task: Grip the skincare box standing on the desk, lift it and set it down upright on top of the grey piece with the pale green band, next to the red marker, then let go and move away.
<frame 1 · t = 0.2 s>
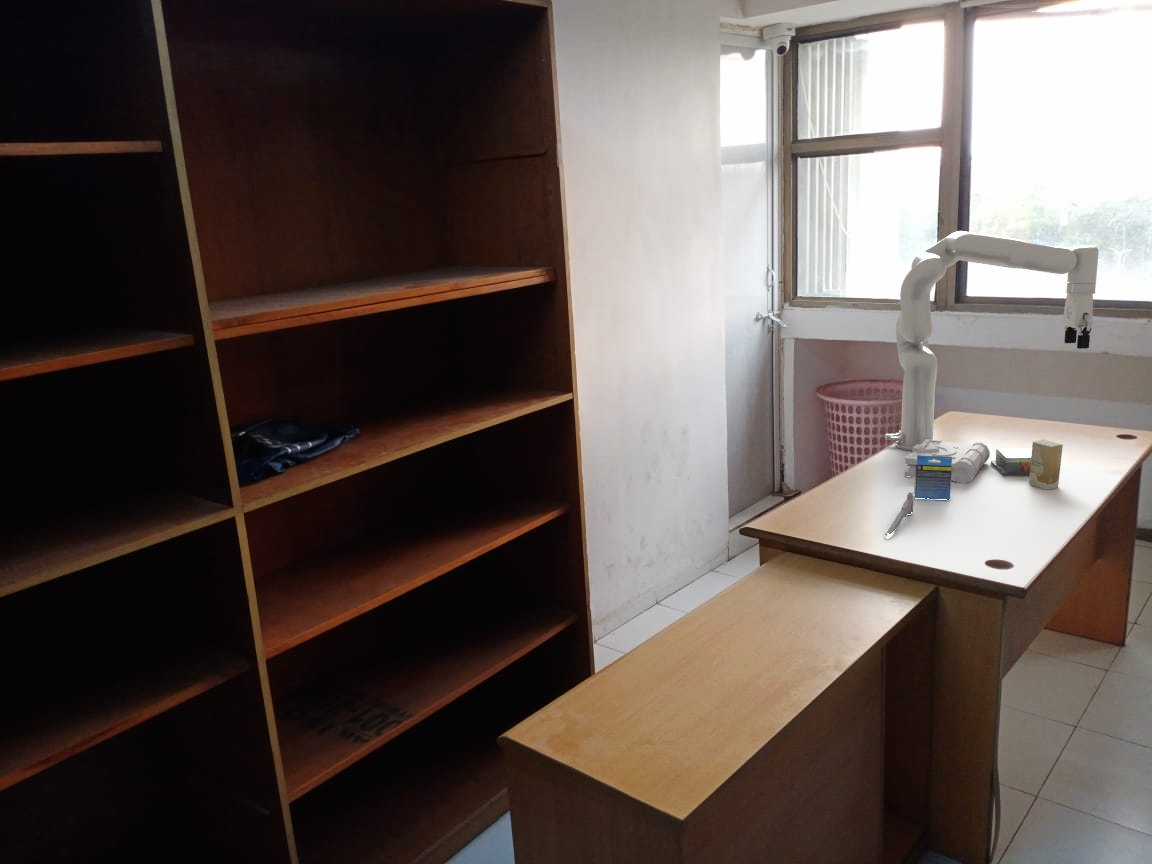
hand: (1076, 345, 279), 31 cm above the table, tool pointing down, fingers open, 9 cm apart
skincare box: (1043, 486, 251), on the table
grey piece: (1018, 469, 265), on the table
caliper: (899, 527, 228), on the table
label tape box: (931, 499, 246), on the table
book: (947, 469, 271), on the table
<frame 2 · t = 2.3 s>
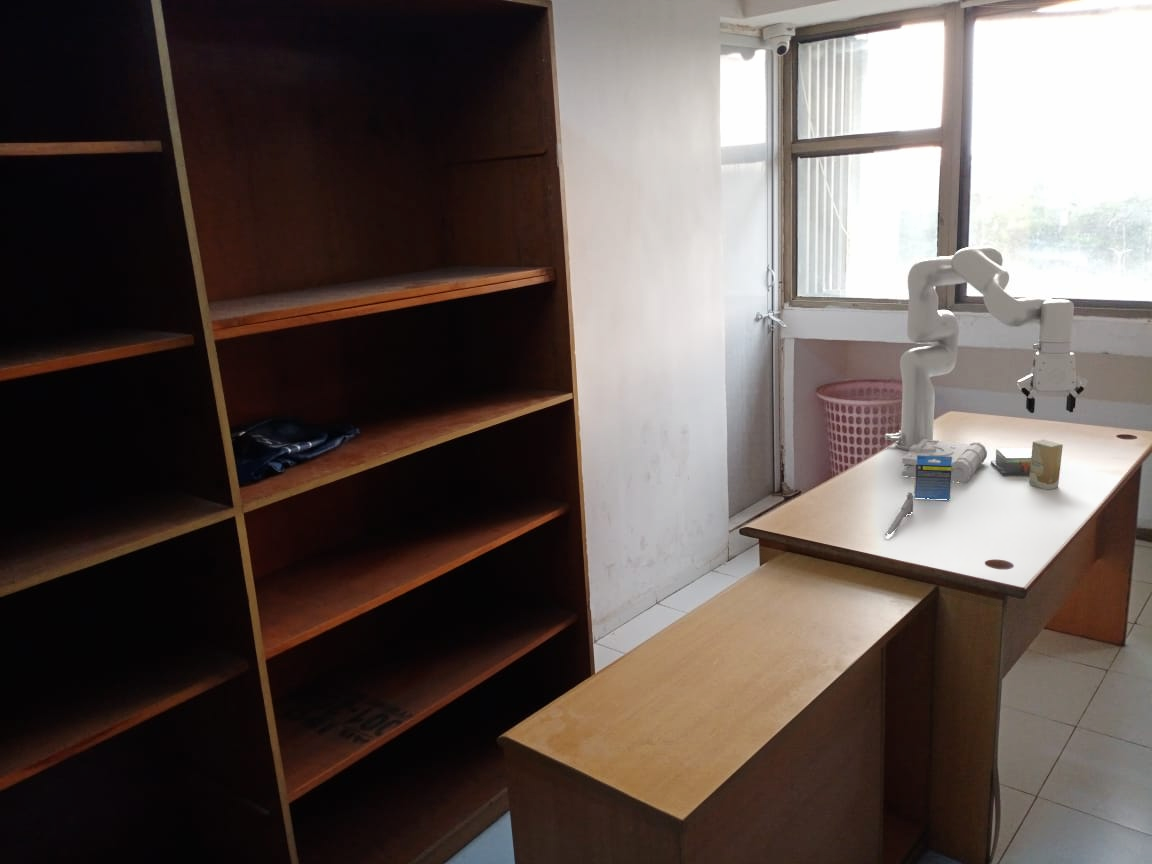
hand: (1050, 411, 246), 21 cm above the table, tool pointing down, fingers open, 9 cm apart
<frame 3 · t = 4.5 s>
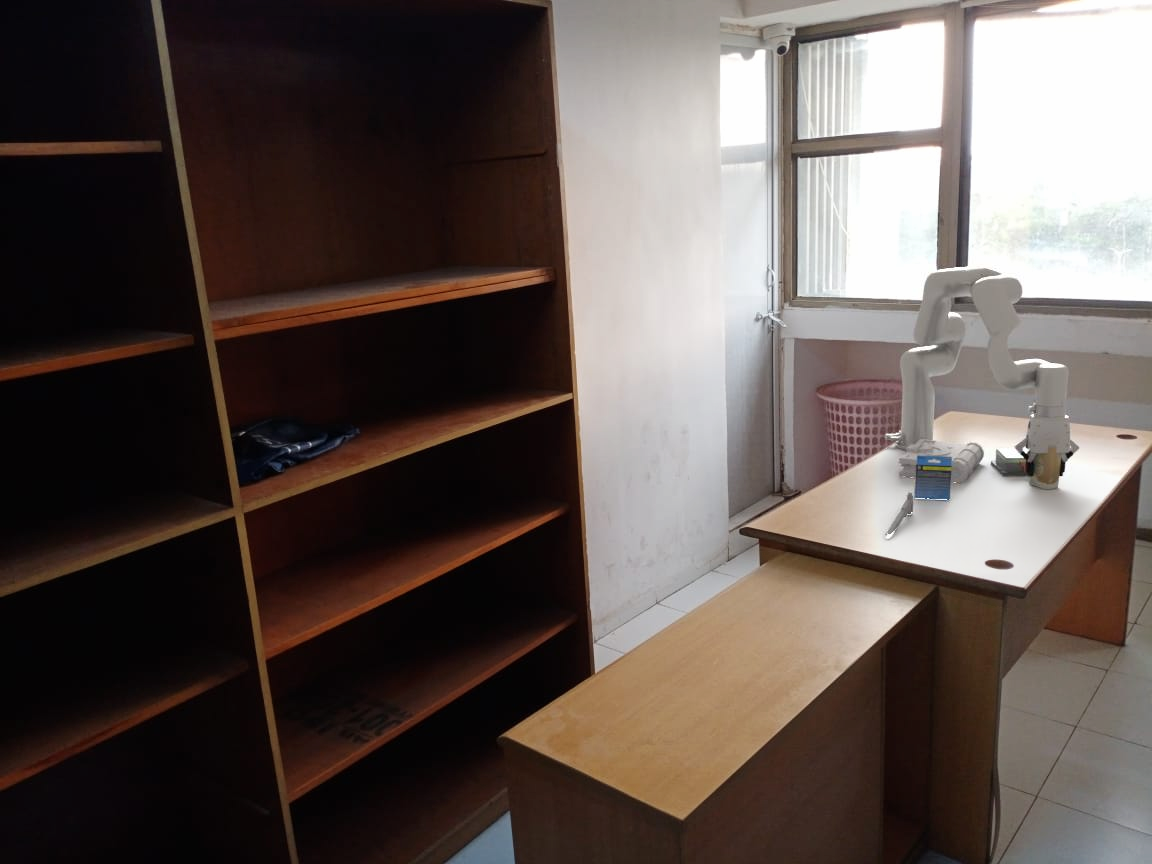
hand: (1044, 474, 250), 3 cm above the table, tool pointing down, fingers closed on skincare box, 6 cm apart
skincare box: (1043, 486, 251), on the table, touching gripper
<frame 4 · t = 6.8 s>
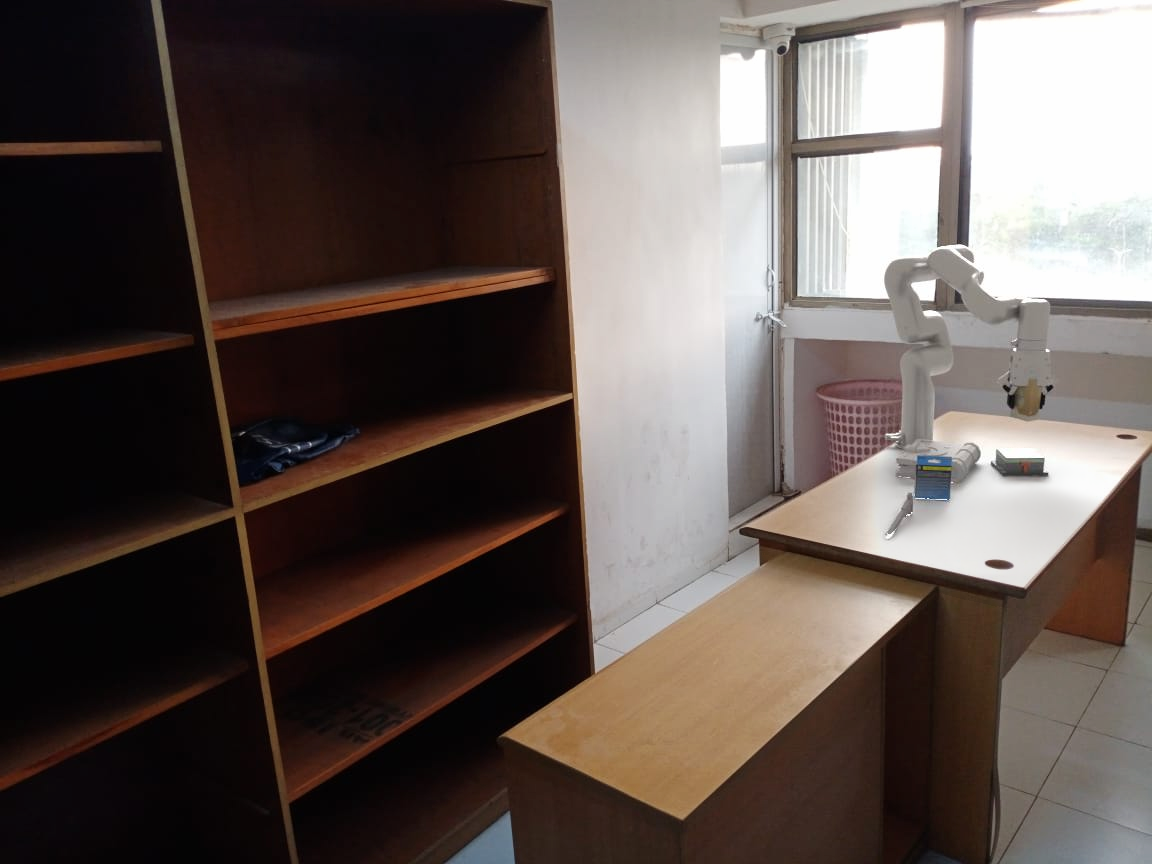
hand: (1025, 407, 259), 19 cm above the table, tool pointing down, fingers closed on skincare box, 6 cm apart
skincare box: (1024, 419, 260), point 15 cm above the table, touching gripper
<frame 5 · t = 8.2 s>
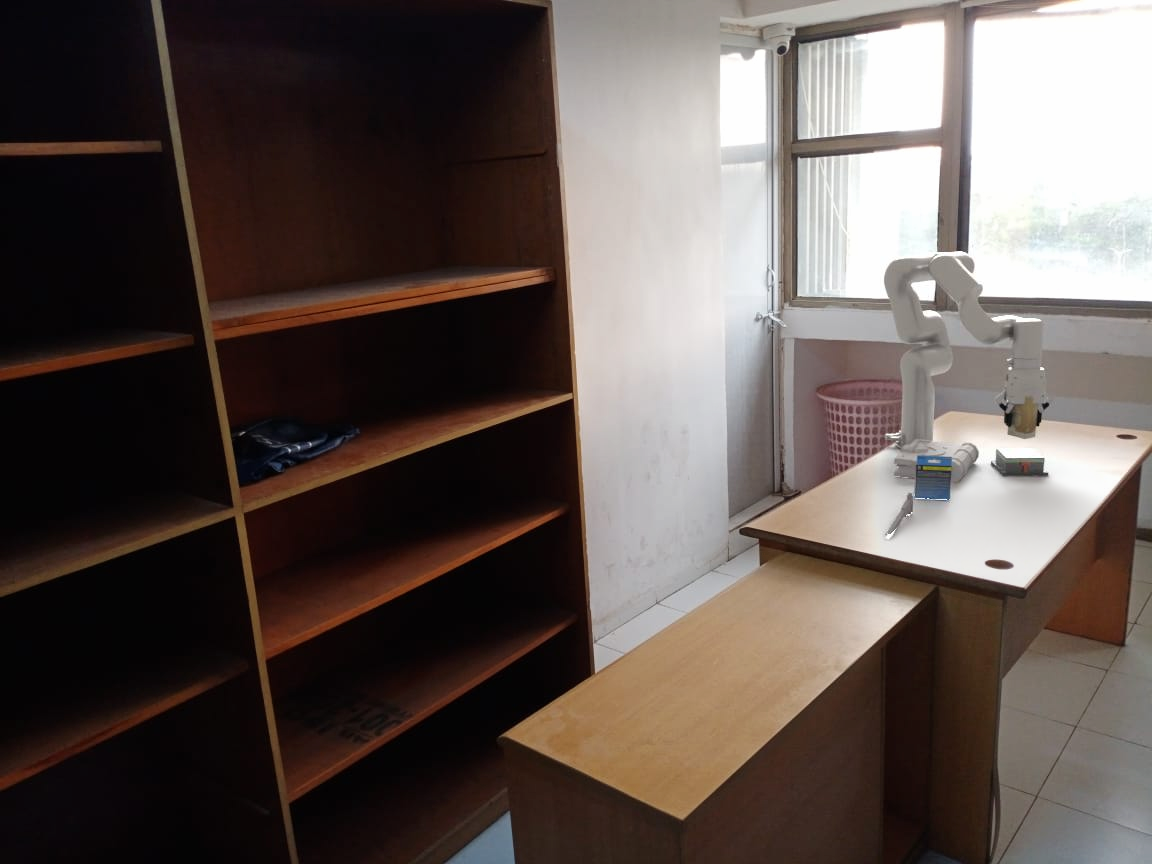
hand: (1022, 425, 262), 13 cm above the table, tool pointing down, fingers closed on skincare box, 6 cm apart
skincare box: (1021, 436, 263), point 10 cm above the table, touching gripper
when the fingers open (9 cm above the table, at t = 9.4 s): skincare box drops 1 cm, resting on grey piece.
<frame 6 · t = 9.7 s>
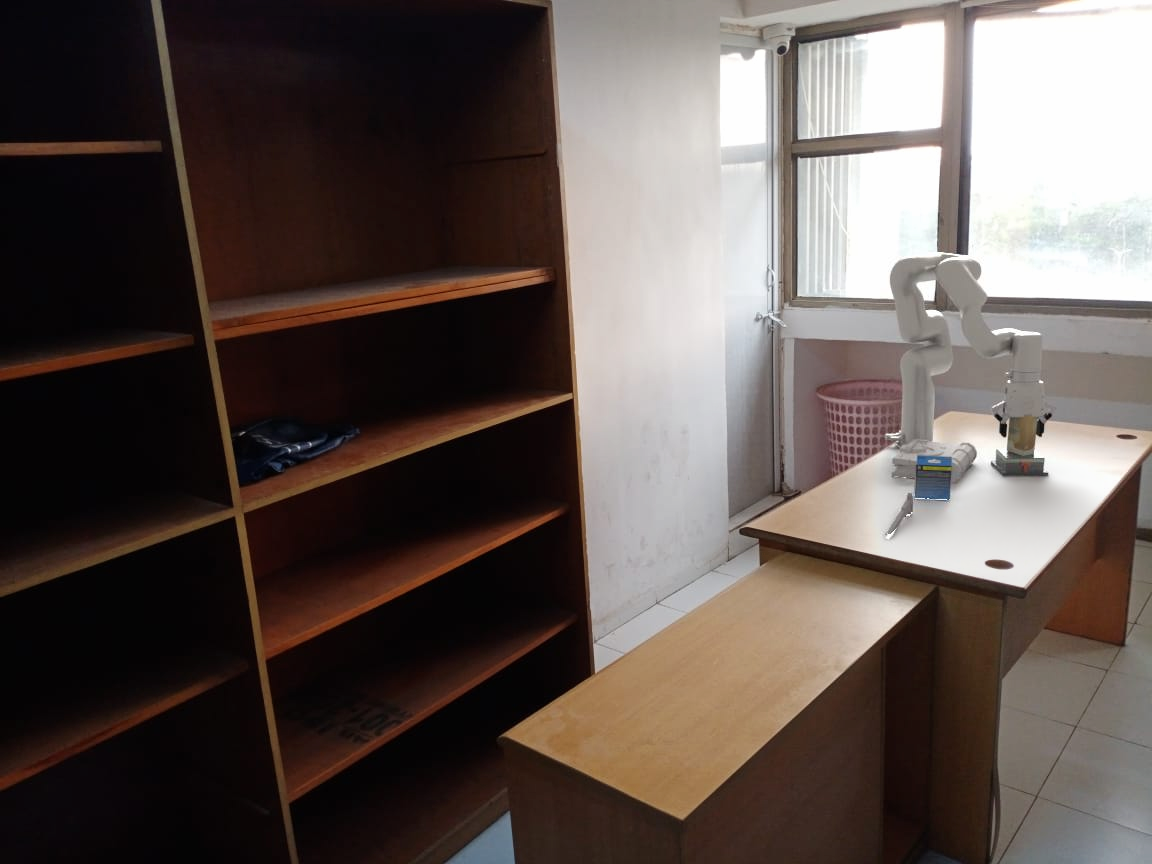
hand: (1021, 436, 263), 10 cm above the table, tool pointing down, fingers open, 9 cm apart
skincare box: (1020, 453, 264), point 5 cm above the table, touching grey piece
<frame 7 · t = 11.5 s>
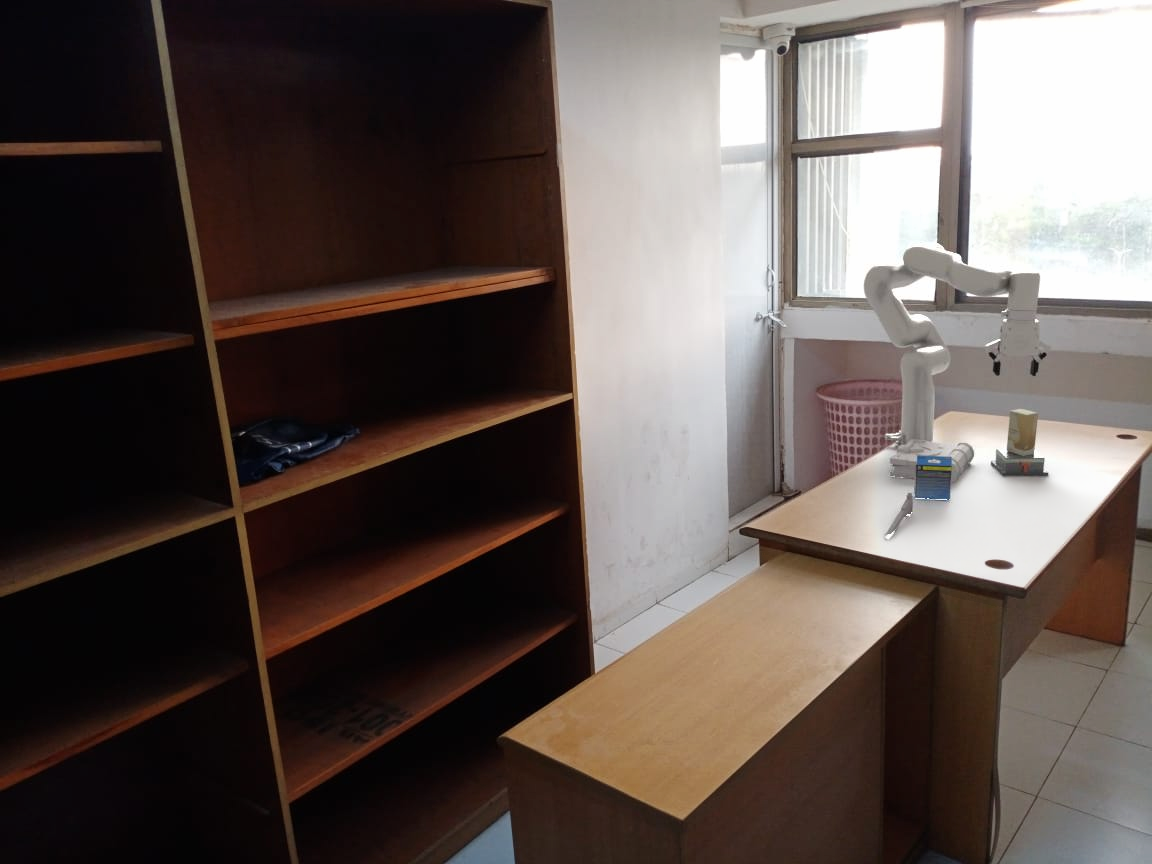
hand: (1014, 374, 265), 27 cm above the table, tool pointing down, fingers open, 9 cm apart
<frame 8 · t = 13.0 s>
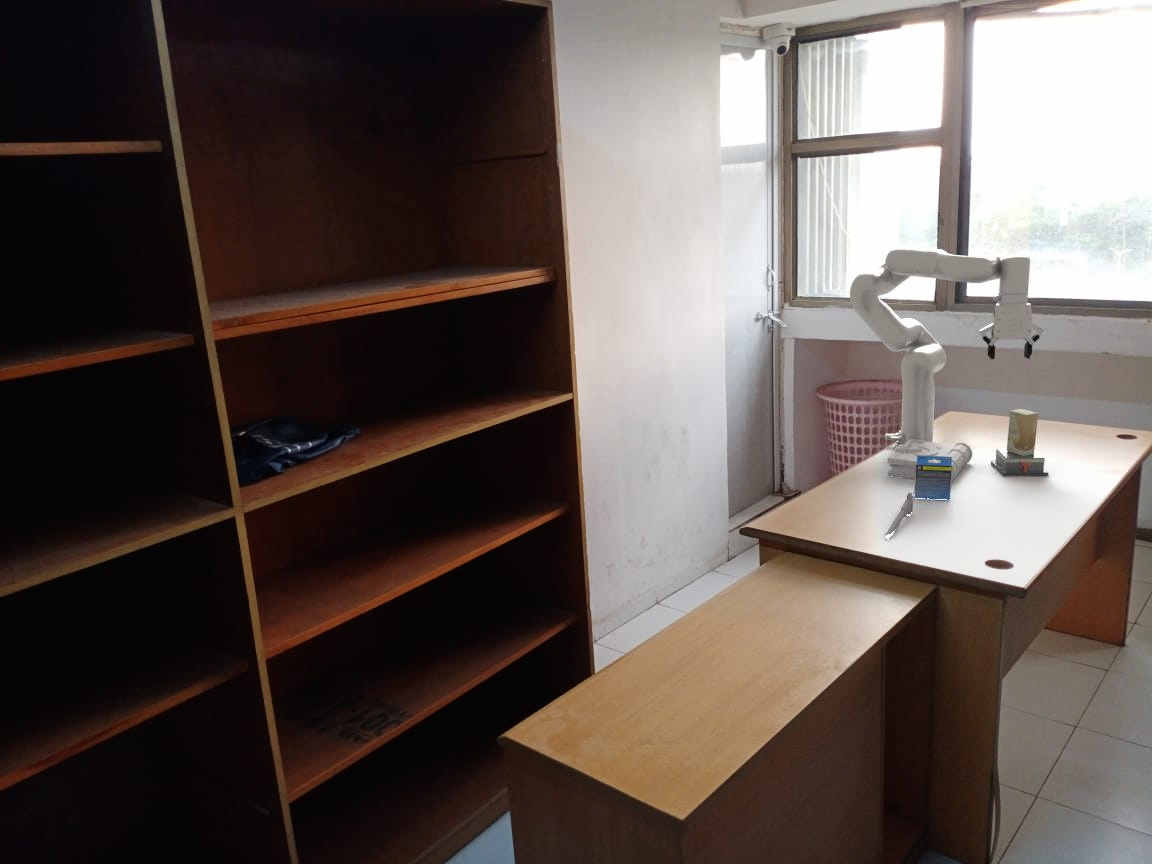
hand: (1009, 358, 269), 30 cm above the table, tool pointing down, fingers open, 9 cm apart
at the end: skincare box inside the target area on the grey piece (0.2 cm from its centre), point 4.8 cm above the grey piece's base; skincare box tilted 0°; the gripper is holding nothing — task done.
